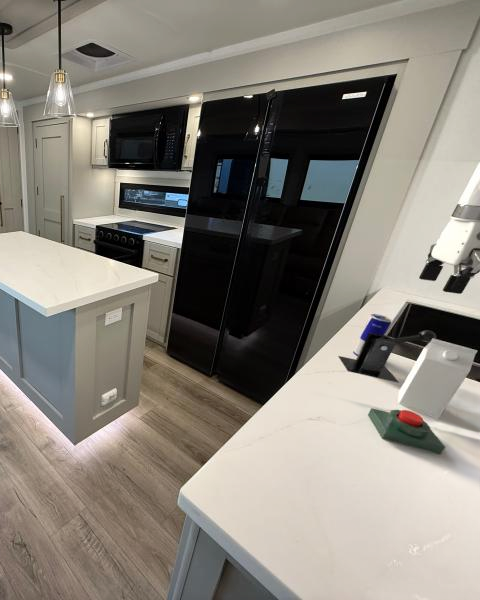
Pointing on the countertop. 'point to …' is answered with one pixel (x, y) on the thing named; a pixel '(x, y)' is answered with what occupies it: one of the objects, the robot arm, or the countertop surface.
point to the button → (410, 418)
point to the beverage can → (373, 329)
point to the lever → (412, 337)
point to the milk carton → (436, 377)
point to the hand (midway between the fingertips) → (438, 285)
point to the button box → (405, 431)
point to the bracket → (372, 358)
